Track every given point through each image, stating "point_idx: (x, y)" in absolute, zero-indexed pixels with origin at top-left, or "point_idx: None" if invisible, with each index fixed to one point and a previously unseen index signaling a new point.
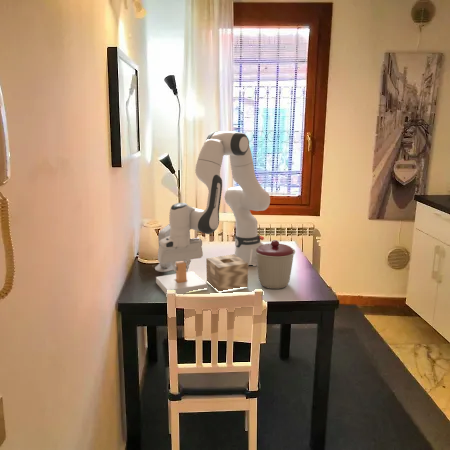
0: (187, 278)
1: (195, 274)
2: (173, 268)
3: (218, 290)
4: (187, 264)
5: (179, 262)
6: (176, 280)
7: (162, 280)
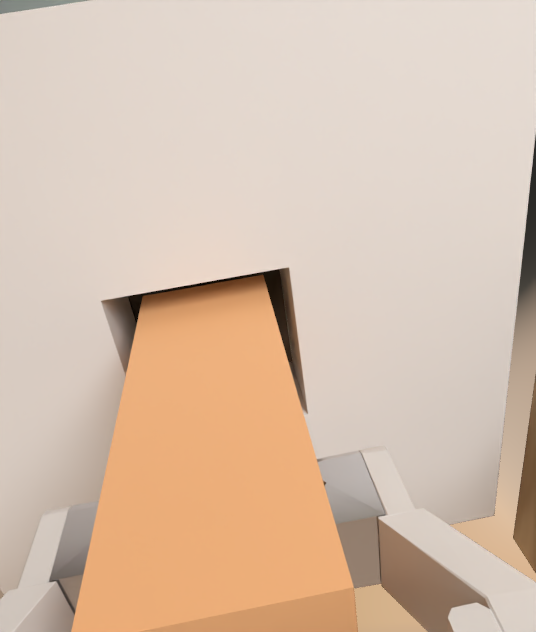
0: (326, 310)
1: (517, 159)
2: (35, 534)
3: (530, 552)
4: (404, 605)
5: None
6: (141, 323)
7: None
